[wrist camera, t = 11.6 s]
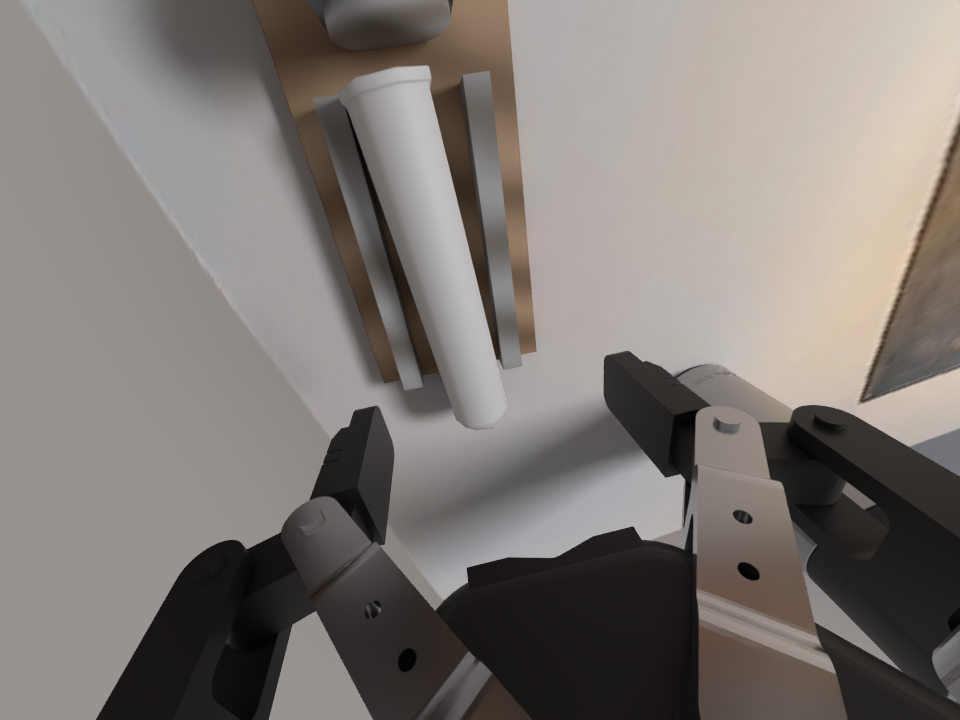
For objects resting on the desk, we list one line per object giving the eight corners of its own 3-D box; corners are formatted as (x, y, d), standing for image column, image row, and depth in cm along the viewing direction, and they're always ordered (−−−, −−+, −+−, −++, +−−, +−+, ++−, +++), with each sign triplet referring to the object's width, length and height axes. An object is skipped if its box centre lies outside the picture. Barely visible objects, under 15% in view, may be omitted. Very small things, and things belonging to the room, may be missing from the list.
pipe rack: (532, 345, 32) (572, 404, 24) (385, 376, 31) (372, 448, 23) (491, -117, 19) (550, -368, 10) (230, -84, 18) (53, -326, 9)
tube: (524, 423, 30) (444, 58, 17) (471, 452, 28) (342, 74, 16) (495, 396, 34) (414, 89, 22) (447, 420, 33) (331, 104, 20)
